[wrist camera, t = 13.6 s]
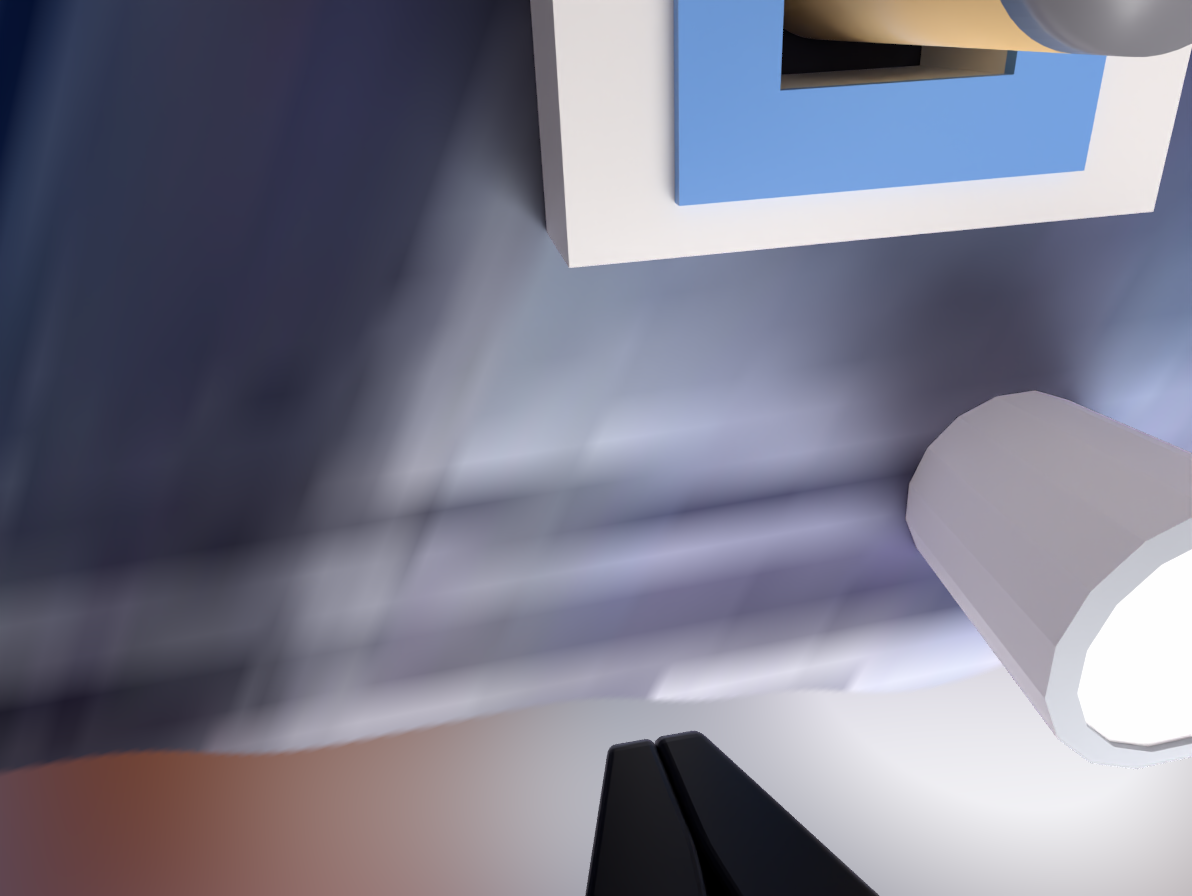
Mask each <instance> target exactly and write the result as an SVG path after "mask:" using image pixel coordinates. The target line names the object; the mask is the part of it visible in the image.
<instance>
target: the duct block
mask: <svg viewBox="0 0 1192 896" xmlns="http://www.w3.org/2000/svg"><path fill="white" fill-rule="evenodd" d="M530 5H531V19H532V33H533V46H534V60H535V74H536V88H537V102H538V116H539V130H540V143H541V157H542V171H543V185H544V199H545V213H546V227H547V233H548V235H549V236H550V238H551V240H552V241H553V243H554V244H555V246H556V248H557V249H558V251H559V252H560V254H561V256H562V257H563V259H564V260H565V262H566V263H567V265H568V267H569V268H573V267H584V266H594V265H604V264H615V263H625V262H636V261H646V260H656V259H667V258H677V257H687V256H698V255H708V254H718V253H729V252H739V251H750V250H760V249H770V248H781V247H791V246H801V245H812V244H822V243H832V242H843V241H853V240H864V239H874V238H884V237H895V236H905V235H915V234H926V233H936V232H946V231H957V230H967V229H978V228H988V227H998V226H1009V225H1019V224H1029V223H1040V222H1050V221H1060V220H1071V219H1081V218H1092V217H1102V216H1112V215H1123V214H1133V213H1143V212H1153V210H1154V206H1155V202H1156V198H1157V193H1158V189H1159V185H1160V181H1161V176H1162V172H1163V168H1164V163H1165V159H1166V155H1167V151H1168V146H1169V142H1170V138H1171V134H1172V129H1173V125H1174V121H1175V116H1176V112H1177V108H1178V104H1179V99H1180V95H1181V91H1182V87H1183V82H1184V78H1185V74H1186V69H1187V65H1188V61H1189V57H1190V52H1191V48H1192V44H1190V45H1188V46H1186V47H1183V48H1181V49H1179V50H1176V51H1172V52H1169V53H1166V54H1162V55H1156V56H1149V57H1122V56H1104V55H1086V54H1068V53H1050V52H1032V51H1014V50H996V49H978V48H960V47H942V46H924V45H922V50H921V59H920V66H906V67H891V68H875V69H860V70H845V71H830V72H815V73H800V74H785V75H781V63H782V40H783V17H784V0H530Z"/></svg>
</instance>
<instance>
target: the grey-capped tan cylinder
mask: <svg viewBox="0 0 1192 896" xmlns="http://www.w3.org/2000/svg"><path fill="white" fill-rule="evenodd" d="M783 28H784V29H785V30H787V31H789V32H790V33H792V34H794V35H797V36H800V37H803V38H808V39H817V40H835V41H853V42H871V43H889V44H906V45H924V46H942V47H960V48H978V49H996V50H1014V51H1032V52H1050V53H1068V54H1086V55H1104V56H1122V57H1149V56H1156V55H1162V54H1166V53H1169V52H1172V51H1176V50H1179V49H1181V48H1183V47H1186V46H1188V45H1190V44H1192V0H784V17H783Z"/></svg>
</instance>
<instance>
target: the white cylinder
mask: <svg viewBox="0 0 1192 896" xmlns="http://www.w3.org/2000/svg"><path fill="white" fill-rule="evenodd" d="M906 521H907V524H908V527H909V529H910V532H911V534H912V537H913V540H914V542H915V545H916V548H917V549H918V550H919V552H920V553H921V554H922V556H923V557H924V558H925V560H926V561H927V563H928V564H929V565H930V567H931V568H932V569H933V571H934V572H935V573H936V575H937V576H938V577H939V579H940V580H941V581H942V583H943V584H944V586H945V587H946V588H947V590H948V591H949V592H950V594H951V595H952V596H953V598H954V599H955V600H956V602H957V603H958V605H959V606H960V607H961V609H962V610H963V611H964V613H965V614H966V615H967V617H968V618H969V619H970V621H971V622H972V623H973V625H974V626H975V628H976V629H977V630H978V632H979V633H980V634H981V636H982V637H983V638H984V640H985V641H986V642H987V644H988V645H989V647H990V648H991V649H992V651H993V652H994V653H995V655H996V656H997V657H998V659H999V660H1000V661H1001V663H1002V664H1003V665H1004V667H1005V668H1006V669H1007V671H1008V672H1009V673H1010V675H1011V676H1012V678H1013V679H1014V680H1015V682H1016V683H1017V684H1018V686H1019V687H1020V689H1021V690H1022V691H1023V692H1024V694H1025V695H1026V697H1027V698H1028V699H1029V701H1030V702H1031V703H1032V705H1033V706H1034V708H1035V709H1036V710H1037V712H1038V713H1039V714H1040V715H1041V717H1042V718H1043V720H1044V721H1045V722H1046V724H1047V725H1048V726H1049V728H1050V729H1051V730H1052V732H1053V733H1054V735H1055V736H1056V737H1057V739H1058V740H1060V741H1061V742H1063V743H1064V744H1065V745H1067V746H1068V747H1069V748H1071V749H1072V750H1073V751H1075V752H1076V753H1077V754H1079V755H1080V756H1082V757H1083V758H1084V759H1086V760H1087V761H1088V762H1090V763H1095V764H1102V765H1110V766H1117V767H1125V768H1134V769H1139V768H1144V767H1148V766H1153V765H1157V764H1162V763H1166V762H1171V761H1175V760H1180V759H1185V758H1189V757H1192V453H1191V452H1188V451H1186V450H1184V449H1181V448H1179V447H1177V446H1174V445H1172V444H1170V443H1167V442H1165V441H1163V440H1160V439H1158V438H1156V437H1153V436H1151V435H1149V434H1146V433H1144V432H1142V431H1139V430H1137V429H1135V428H1132V427H1130V426H1128V425H1125V424H1123V423H1121V422H1118V421H1116V420H1114V419H1112V418H1109V417H1107V416H1105V415H1102V414H1100V413H1098V412H1095V411H1093V410H1091V409H1088V408H1086V407H1084V406H1081V405H1079V404H1077V403H1074V402H1072V401H1070V400H1067V399H1064V398H1060V397H1057V396H1053V395H1050V394H1046V393H1042V392H1039V391H1035V390H1034V391H1028V392H1021V393H1015V394H1008V395H1002V396H996V397H994V398H992V399H990V400H988V401H987V402H985V403H983V404H981V405H979V406H977V407H975V408H973V409H972V410H970V411H968V412H966V413H964V414H962V415H960V416H958V417H957V418H956V419H955V420H954V421H953V422H952V423H951V424H950V425H949V426H948V427H947V428H946V429H945V430H944V431H943V432H942V433H941V434H940V435H939V437H938V438H937V439H936V440H935V441H934V442H933V443H932V444H931V445H930V446H929V447H928V448H927V450H926V452H925V453H924V455H923V457H922V459H921V461H920V463H919V465H918V467H917V469H916V471H915V473H914V475H913V477H912V479H911V481H910V483H909V490H908V500H907V510H906Z"/></svg>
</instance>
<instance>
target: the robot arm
mask: <svg viewBox="0 0 1192 896" xmlns="http://www.w3.org/2000/svg"><path fill="white" fill-rule="evenodd" d="M585 896H879V895H878V894H877V893H876V892H875V891H874V890H873V889H871V888H870V887H869V886H868V885H867V884H866V883H865V882H864V881H863V880H862V879H861V878H859V877H858V876H857V875H856V874H855V873H854V872H853V871H852V870H851V869H849V867H847V866H846V865H845V864H844V863H843V862H842V861H841V860H840V859H839V858H837V856H835V855H834V854H833V853H832V852H831V851H830V850H829V849H828V848H827V847H826V846H824V845H823V844H822V843H821V842H820V841H819V840H818V839H817V838H816V837H815V836H814V835H813V834H811V833H810V832H809V831H808V830H807V829H806V828H805V827H804V826H803V825H802V824H800V823H799V822H798V821H797V820H796V819H795V818H794V817H793V816H792V815H791V814H790V813H789V812H787V811H786V810H785V809H784V808H783V807H782V806H781V805H780V804H779V803H778V802H776V801H775V800H774V799H773V798H772V797H771V796H770V795H769V794H768V793H767V792H766V791H764V790H763V789H762V788H761V787H760V786H759V785H758V784H757V783H756V782H755V781H754V780H752V779H751V778H750V777H749V776H748V775H747V774H746V773H745V772H744V771H743V770H741V769H740V768H739V767H738V766H737V765H736V764H735V763H734V762H733V761H732V760H731V759H730V758H728V757H727V756H726V755H725V754H724V753H723V752H722V751H721V750H720V749H719V748H718V747H716V746H715V745H714V744H713V743H712V742H711V741H710V740H709V739H708V738H707V737H706V736H704V735H703V734H702V733H700V732H697V731H690V732H683V733H678V734H672V735H667V736H661V737H659V738H658V739H657V740H656V741H655V744H654V743H653V742H652V741H651V740H648V739H644V740H639V741H633V742H627V743H621V744H616V745H613V746H611V747H610V749H609V750H608V754H607V759H606V766H605V772H604V779H603V786H602V792H601V799H600V805H599V811H598V817H597V824H596V831H595V837H594V844H593V850H592V856H591V863H590V869H589V876H588V882H587V889H586V895H585Z"/></svg>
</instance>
